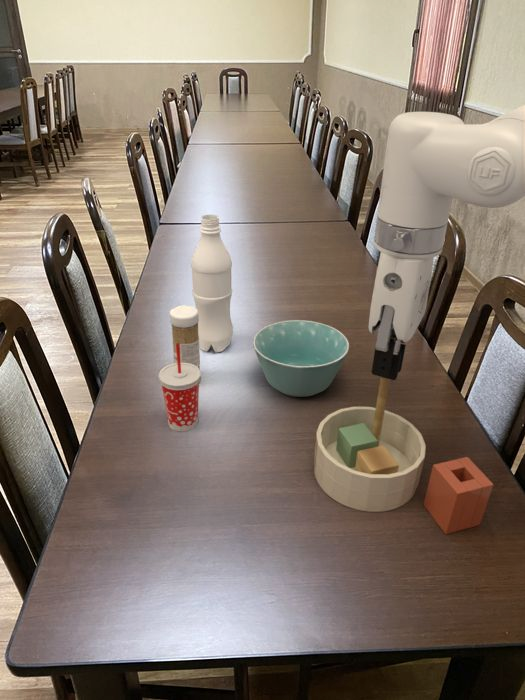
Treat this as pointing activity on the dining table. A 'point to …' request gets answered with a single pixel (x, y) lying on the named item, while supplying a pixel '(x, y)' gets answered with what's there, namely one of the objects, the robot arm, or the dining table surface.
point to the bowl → (300, 356)
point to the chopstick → (380, 407)
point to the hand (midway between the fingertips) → (386, 372)
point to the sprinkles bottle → (186, 334)
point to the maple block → (376, 461)
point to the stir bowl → (365, 487)
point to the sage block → (354, 442)
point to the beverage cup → (181, 393)
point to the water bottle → (212, 287)
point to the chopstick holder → (457, 494)
